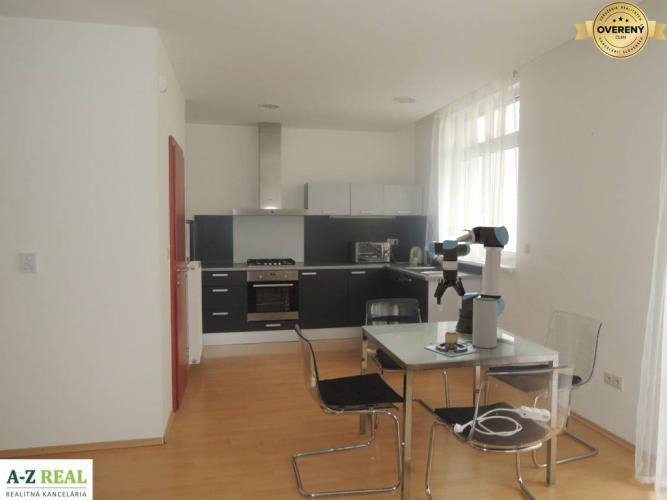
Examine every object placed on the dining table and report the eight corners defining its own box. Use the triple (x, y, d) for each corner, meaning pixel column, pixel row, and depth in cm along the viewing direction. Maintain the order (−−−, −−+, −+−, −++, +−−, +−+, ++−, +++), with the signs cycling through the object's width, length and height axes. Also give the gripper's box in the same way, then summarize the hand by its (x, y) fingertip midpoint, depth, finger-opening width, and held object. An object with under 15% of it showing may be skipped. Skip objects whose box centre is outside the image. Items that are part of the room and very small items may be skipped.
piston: (451, 346, 262) (451, 330, 262) (460, 349, 257) (460, 333, 256) (442, 347, 259) (442, 332, 259) (450, 350, 254) (450, 334, 253)
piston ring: (452, 343, 269) (452, 340, 269) (474, 350, 254) (474, 347, 254) (428, 347, 261) (428, 344, 260) (450, 354, 246) (450, 351, 246)
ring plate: (452, 343, 271) (452, 342, 271) (479, 351, 254) (479, 350, 254) (424, 347, 261) (424, 346, 261) (450, 357, 244) (450, 355, 244)
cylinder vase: (482, 349, 258) (483, 302, 256) (467, 344, 270) (468, 298, 268) (501, 347, 263) (502, 300, 261) (486, 341, 274) (487, 297, 273)
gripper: (462, 266, 267) (461, 305, 268) (427, 269, 254) (426, 310, 256) (472, 268, 260) (472, 307, 262) (437, 271, 248) (436, 313, 249)
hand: (449, 309), depth 259 cm, fingers open, 13 cm apart
